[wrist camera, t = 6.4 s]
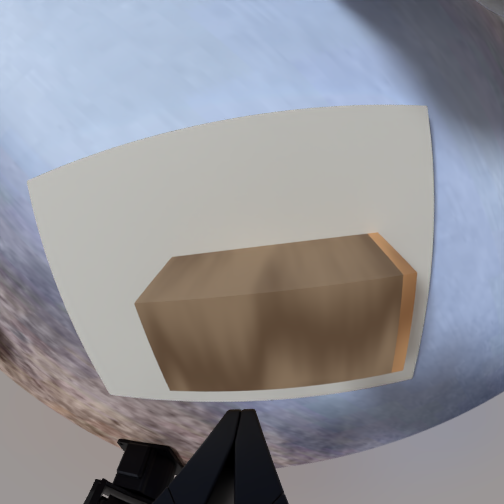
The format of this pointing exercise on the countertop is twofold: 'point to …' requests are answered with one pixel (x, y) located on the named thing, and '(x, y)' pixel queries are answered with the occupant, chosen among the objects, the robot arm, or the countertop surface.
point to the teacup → (493, 6)
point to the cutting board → (230, 219)
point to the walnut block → (280, 315)
